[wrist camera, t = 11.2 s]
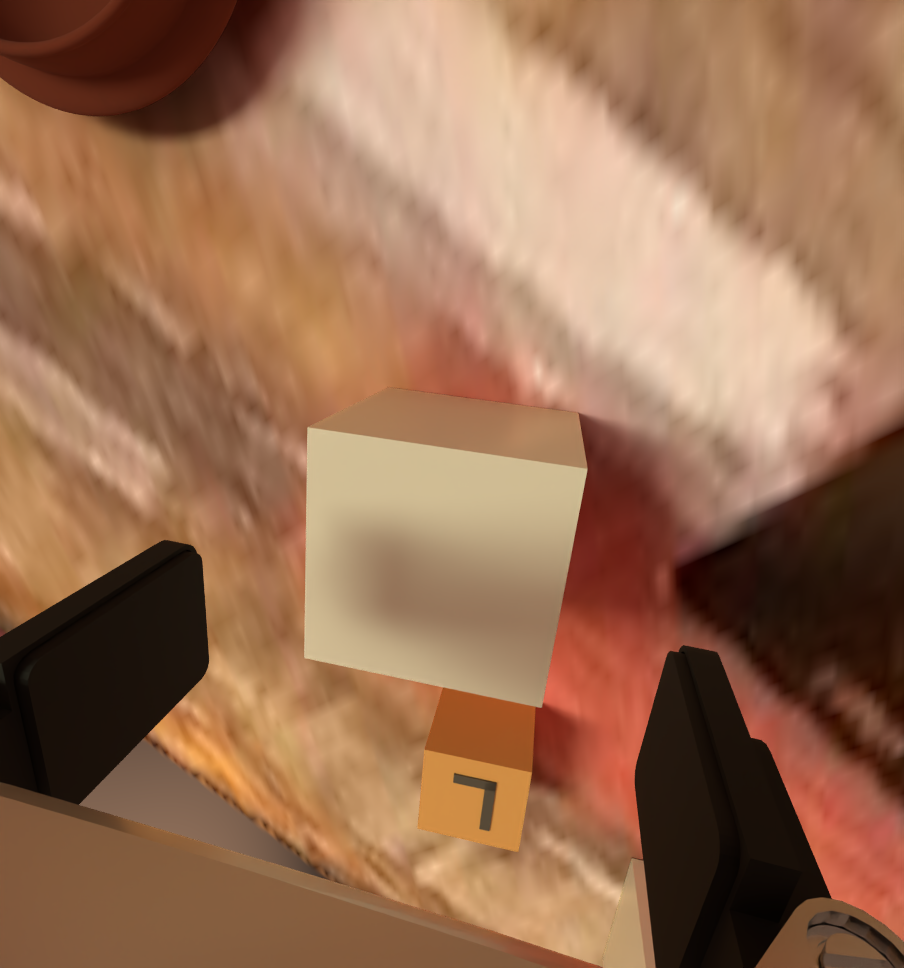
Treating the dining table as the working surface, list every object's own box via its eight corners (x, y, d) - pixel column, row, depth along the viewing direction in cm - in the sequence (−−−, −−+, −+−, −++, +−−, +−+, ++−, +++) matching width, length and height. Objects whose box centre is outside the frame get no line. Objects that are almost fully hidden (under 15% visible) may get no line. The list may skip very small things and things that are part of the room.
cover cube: (578, 412, 19) (587, 468, 13) (547, 586, 22) (541, 708, 15) (387, 387, 20) (307, 427, 14) (377, 555, 23) (304, 657, 16)
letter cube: (536, 698, 24) (531, 774, 20) (523, 770, 25) (517, 855, 21) (445, 680, 24) (424, 750, 20) (438, 752, 26) (417, 831, 22)
